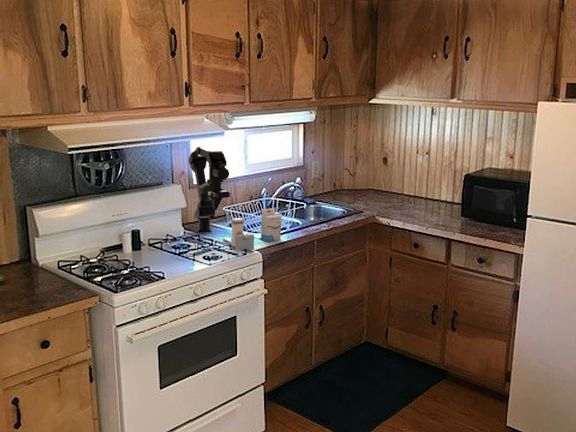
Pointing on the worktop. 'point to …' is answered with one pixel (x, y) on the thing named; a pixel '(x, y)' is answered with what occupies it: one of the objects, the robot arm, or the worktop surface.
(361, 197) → the worktop surface
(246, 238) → the gauge plunger
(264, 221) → the ink box
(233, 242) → the cream bottle
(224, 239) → the steel rail
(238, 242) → the gauge cabinet
